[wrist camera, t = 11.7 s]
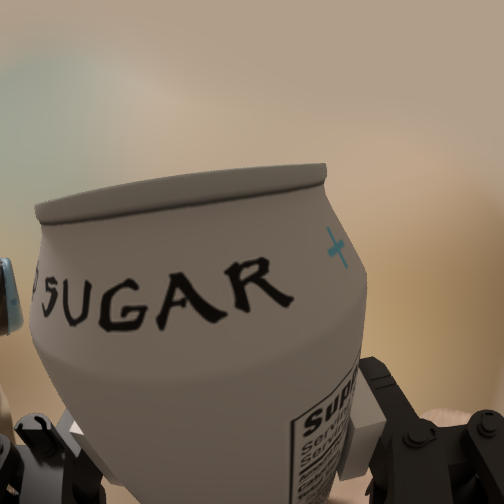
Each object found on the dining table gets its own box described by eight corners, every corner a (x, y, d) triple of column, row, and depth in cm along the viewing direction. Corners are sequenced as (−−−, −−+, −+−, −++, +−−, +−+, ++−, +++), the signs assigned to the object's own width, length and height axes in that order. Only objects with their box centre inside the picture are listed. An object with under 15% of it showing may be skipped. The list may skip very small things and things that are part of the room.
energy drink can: (213, 472, 13) (139, 181, 8) (323, 486, 11) (350, 162, 7) (173, 555, 7) (-49, 230, 3) (303, 581, 5) (446, 166, 1)
